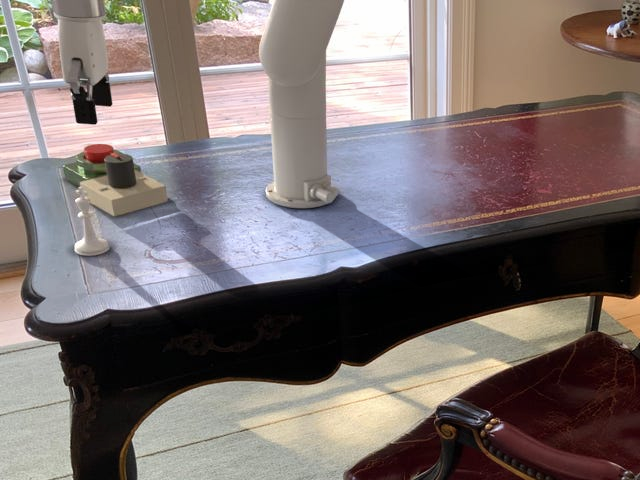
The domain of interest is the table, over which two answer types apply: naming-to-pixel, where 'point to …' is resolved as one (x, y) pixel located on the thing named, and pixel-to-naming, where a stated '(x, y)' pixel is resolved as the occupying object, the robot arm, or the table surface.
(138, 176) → the panel
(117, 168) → the knob
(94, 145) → the power button
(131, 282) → the table surface
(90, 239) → the chess piece
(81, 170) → the switch box
